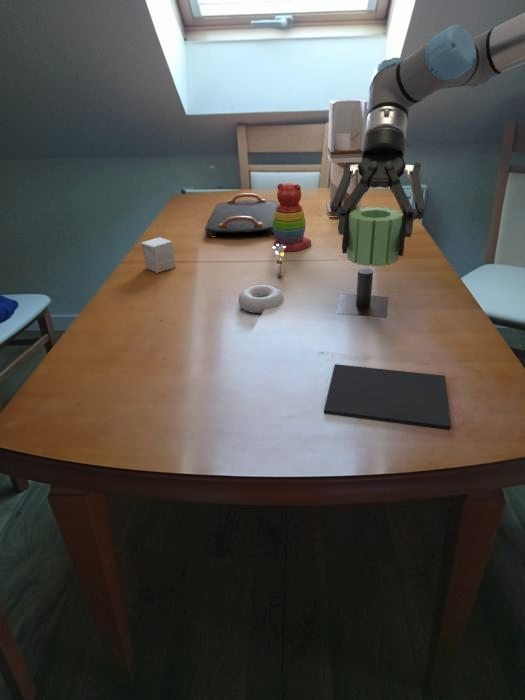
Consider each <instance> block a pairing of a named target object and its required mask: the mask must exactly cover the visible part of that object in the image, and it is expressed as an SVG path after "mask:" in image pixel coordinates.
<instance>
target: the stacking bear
mask: <svg viewBox="0 0 525 700" xmlns="http://www.w3.org/2000/svg"><path fill="white" fill-rule="evenodd" d="M276 189H277V193H276V197H277V202H278V204H277V207H276V210H275V213H274V218H273V229H272V230H273V236H274V241H273V247H274V246H276V244H277V245H278V243H279V246H281V244H283V246H285V249H284V253H285V252H287V253H289V252H290V253H291V252H298V251H302V250H304V249H306V248H308V247H310V246H311V245H312V240H311V239H310V238H309V237H306V236H304V235H305V232H306V224H307V223H306V217H305V212H304V209H303V207H302V205H301V204H300V201H301V199H302V190H301V189H302V188H301V185H299V184H297V183H296V184H294V183H284V184H283V183H279V184H277V188H276ZM282 249H283V248H282Z"/></svg>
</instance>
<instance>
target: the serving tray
mask: <svg viewBox="0 0 525 700" xmlns="http://www.w3.org/2000/svg"><path fill="white" fill-rule="evenodd" d="M239 198H255V199H245V200H238V199H239ZM278 205H279V202H278V200H277V201H276V200H266V198H262V197H261V196H260V195H258V194H257V193H252V192H245V193H244V192H243V193H238V194H236V195H234V196H233V198H231V199H228V200H227V201H224V202H219V203H216V205H215V206H214V208H213V210H212V212H211V214H210V216H209V218H208V220H207V223H206V225H205V227H204V230H205V231H208V232H209V234H208V235H209V236H210V237H211V236H215V237H216V236H217V233H251V232H253V233H254V232H261V231H265V233H266V235H267V234H268V235H271V234H272V235H273V234H274V232H273V218H274V213H275V210H276V207H277V206H278ZM268 235H267V236H268ZM272 235H271V236H272Z"/></svg>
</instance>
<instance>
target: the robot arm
mask: <svg viewBox="0 0 525 700" xmlns="http://www.w3.org/2000/svg"><path fill="white" fill-rule="evenodd" d="M524 64H525V11H524V12H523V13H520V14H518V15H517V16H514V17H513V18H511V19H509V20H507V21H504V22H502V23H500V24H499V25H496V26H494V27H493V28H491V29H489V30H487V31H485V32H482V33H480V34H478V35H476V36H474V37H472V35H471V34H470V33H469V31H468V30H467V29H465V28H464V27H463V26H462V25H459V24H452V25H450V26H448V27H447V28H446V29H443V31H441V32H438V33H436V34H435V35H434V36H433V37H431V38H430V40H428V41H427V42H426V43H425V44H423V45H422V46H421V47H419V48H418V49H416V50H415V51H414V52H412V53H411V54H410V55H408V57H406V58H401V57H391V58H389V59H384V60H382V61H381V62H379V64H377V65H376V67H375V68H374V70H373V73H372V77H371V82H370V85H369V91H368V94H369V96H368V103H367V116H366V128H365V140H364V145H363V153H362V159H361V161H360V162H359V164H358V165H350V163H345V164H344V174H343V176H342V179H341V181H340V184H339V186H338V189H337V191H336V194H335V196H334V199H333V201H332V204H331V214H332V216H334V217H335V216H337V217H339V218H338V225H337V231H338V235H340V236H341V235H342V240H341V241H342V243H341V250H342V252H341V253H342V254H346V255H347V250H348V232H349V215H350V212H352V211H353V209H354V208H355V206H356V205H357V203H358V202H359V201H360V199H361V200H362V198H363V196H364V195H365V194H366V193H367V192H369V189H370V188H371V189H374V188H375V189H376V188H384V189H388V188H389V190H390V191H391V193H392V194H393V196H394V198H395V200H396V203H397V204H398V207H399V209H400V210H401V211H400V212H401V213H403V216H402V225H401V234H400V243H399V253H398V257H403V256H404V250H405V249H404V248H405V240H406V239H405V238H411V237H412V234H413V229H414V221H415V220H417V219H418V220H422V219H424V216H425V213H426V204H425V200H424V199H425V198H424V193H423V189H422V182H421V178H420V174H421V168H422V164H421V163H420V162H419V161H418V162H414V164H406V162H405V151H406V150H405V149H406V138H407V130H408V118H409V111H410V108H411V107H412V106H414V105H416V104H418V103H420V102H421V101H422V100H424V99H425V98H427V97H429V96H431V95H433V94H434V93H435V92H438V91H439V90H443V89H451V88H452V89H453V88H460V87H476V86H480V85H483V84H485V83H488V82H491V81H492V80H493V79H494V78H495V77H496V76H498V75H500V74H502V73H505V72H507V71H510V70H512V69H514V68H517V67H519V66H522V65H524ZM357 172H359V174H360V175H361V176H362V177H361V179H360V182H359V183H358V185H357V186H356V188H355V189H354V191H353V192H352V193H351V195H350V196H349V198H348V199H347V200H346V202H345V203H344V205H343V206H342V208H341V205H342V203H343V200H344V198H345V195H346V192H347V190H348V187H349V185H350V181H351V179H352V178H353V177H354V176H355V174H356V173H357ZM404 173H405V174H406V176H407V178H408V179H409V180H410V187H411V192H412V198H413V204H414V208H413V206H412V204H411V202H410V200H409V198H408V196H407V194H406V191H405V189H404V187H403V185H402V183H401V180H400V178H401V177H402V175H404Z"/></svg>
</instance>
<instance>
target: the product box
mask: <svg viewBox="0 0 525 700" xmlns="http://www.w3.org/2000/svg"><path fill="white" fill-rule="evenodd" d="M140 244H141V250H142V255H143V261H144V267H146V268H149V269H151V270H153V271H155V272H154V273H156V272H157V273H156V274H159V273H158V272H161V271H164V270H167V269H170V268H172V269H174V268H173V267H175V268H176V267H177V266H176V258H175V251H174V243H173V241H172V240H168V239H166V238H163V237H160V236H159V237H155V238H152V239H151V238H150V239H148V240H145V241H142V242H141V243H140ZM146 268H145V269H146ZM149 269H148V270H149ZM151 270H150V271H151ZM170 270H171V269H170ZM153 271H152V272H153ZM167 271H168V270H167ZM164 272H165V271H164ZM161 273H162V272H161Z"/></svg>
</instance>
